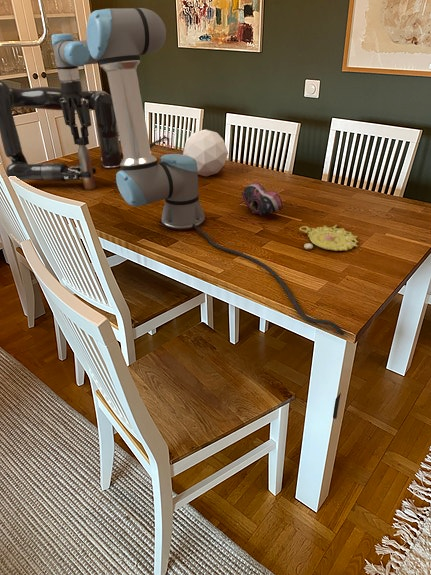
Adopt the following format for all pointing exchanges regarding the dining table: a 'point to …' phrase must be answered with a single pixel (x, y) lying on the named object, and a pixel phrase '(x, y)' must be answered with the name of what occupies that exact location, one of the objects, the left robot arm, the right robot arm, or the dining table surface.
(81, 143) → the cap
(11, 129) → the left robot arm
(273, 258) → the dining table surface
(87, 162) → the bottle
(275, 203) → the athletic shoe
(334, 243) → the decorative object
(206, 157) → the sphere
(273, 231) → the dining table surface
